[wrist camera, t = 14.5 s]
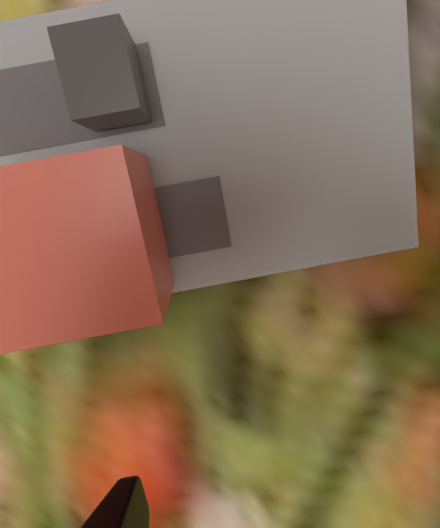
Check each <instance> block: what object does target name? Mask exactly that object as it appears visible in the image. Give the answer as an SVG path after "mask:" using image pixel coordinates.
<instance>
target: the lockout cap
mask: <svg viewBox="0 0 440 528" xmlns="http://www.w3.org/2000/svg"><path fill="white" fill-rule="evenodd" d="M174 285H175V283H174V278H173V274H172V269H171V264H170V260H169V255H168V251H167V246H166V241H165V237H164V232H163V227H162V223H161V218H160V214H159V209H158V204H157V200H156V195H155V190H154V186H153V181H152V177H151V172H150V167H149V163H148V158H147V155H144V154H142V153H140V152H138V151H135V150H133V149H131V148H129V147H126V146H124V145H122V144H121V145H115V146H110V147H104V148H99V149H93V150H88V151H83V152H77V153H72V154H66V155H61V156H55V157H50V158H44V159H39V160H33V161H28V162H22V163H17V164H11V165H6V166H0V354H3V353H9V352H14V351H19V350H25V349H30V348H36V347H41V346H47V345H52V344H58V343H63V342H69V341H74V340H80V339H85V338H90V337H96V336H101V335H107V334H112V333H118V332H123V331H129V330H134V329H140V328H145V327H151V326H156V325H161V324H163V323H164V319H165V316H166V312H167V309H168V305H169V302H170V299H171V295H172V292H173V288H174Z"/></svg>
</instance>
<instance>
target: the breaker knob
mask: <svg viewBox="0 0 440 528" xmlns="http://www.w3.org/2000/svg"><path fill="white" fill-rule="evenodd" d="M47 31H48V35H49V39H50V43H51V46H52V50H53V54H54V58H55V62H56V65H57V69H58V73H59V77H60V81H61V84H62V88H63V92H64V96H65V100H66V104H67V107H68V111H69V115H70V119H71V121H73V122H75V123H77V124H80V125H82V126H84V127H86V128H88V129H91V130H93V131H95V132H98V131H104V130H109V129H114V128H120V127H125V126H130V125H136V124H141V123H146V122H152V118H151V114H150V109H149V104H148V100H147V95H146V90H145V85H144V81H143V76H142V71H141V67H140V62H139V57H138V53H137V48H136V45H135V43H134V41H133V39H132V37H131V35H130V33H129V31H128V29H127V27H126V25H125V23H124V21H123V19H122V17H121V15H120V13H118V14H113V15H107V16H102V17H97V18H91V19H86V20H81V21H75V22H70V23H65V24H59V25H54V26H49V27H47Z"/></svg>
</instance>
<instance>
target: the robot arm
mask: <svg viewBox="0 0 440 528" xmlns="http://www.w3.org/2000/svg"><path fill="white" fill-rule="evenodd" d="M81 528H149V507H148V503H147V499H146V496H145V492H144V489H143V485H142V482H141V479H140V478H139V477H138V476H131V477H125V478H121V479H119V480H118V481H117V482H116V484H115V485H114V486H113V487H112V489H111V490H110V491H109V492H108V494H107V495H106V496H105V497H104V499H103V500H102V501H101V503H100V504H99V505H98V506H97V508H96V509H95V510H94V511H93V513H92V514H91V515H90V516H89V518H88V519H87V520H86V521H85V523H84V524H83V525H82V526H81Z"/></svg>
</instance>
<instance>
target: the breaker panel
mask: <svg viewBox="0 0 440 528" xmlns="http://www.w3.org/2000/svg"><path fill="white" fill-rule="evenodd" d="M118 13H120V15H121V17H122V19H123V21H124V23H125V25H126V27H127V29H128V31H129V33H130V35H131V37H132V39H133V41H134V43H135V45H136V48H137V53H138V57H139V62H140V67H141V71H142V76H143V81H144V85H145V90H146V95H147V100H148V104H149V109H150V114H151V118H152V122H146V123H141V124H136V125H130V126H125V127H120V128H114V129H109V130H104V131H98V132H95V131H93V130H91V129H88V128H86V127H84V126H82V125H80V124H77V123H75V122H73V121H71V119H70V115H69V111H68V107H67V104H66V100H65V96H64V92H63V88H62V84H61V81H60V77H59V73H58V69H57V65H56V62H55V58H54V54H53V50H52V46H51V43H50V39H49V35H48V31H47V27H49V26H54V25H59V24H65V23H70V22H75V21H81V20H86V19H91V18H97V17H102V16H107V15H113V14H118ZM121 144H122V145H124V146H126V147H129V148H131V149H133V150H135V151H138V152H140V153H142V154H144V155H147V158H148V163H149V167H150V172H151V177H152V181H153V186H154V190H155V195H156V200H157V204H158V209H159V214H160V218H161V223H162V227H163V232H164V237H165V241H166V246H167V251H168V255H169V260H170V264H171V269H172V274H173V278H174V283H175V285H174V288H173V292H172V293H175V292H181V291H186V290H192V289H197V288H202V287H208V286H213V285H218V284H224V283H229V282H234V281H240V280H245V279H250V278H256V277H261V276H266V275H272V274H277V273H282V272H288V271H293V270H299V269H304V268H309V267H315V266H320V265H325V264H331V263H336V262H341V261H347V260H352V259H357V258H363V257H368V256H373V255H379V254H384V253H390V252H395V251H400V250H406V249H411V248H416V247H419V240H418V221H417V201H416V182H415V162H414V143H413V123H412V104H411V84H410V65H409V45H408V25H407V6H406V0H112V1H107V2H101V3H96V4H91V5H85V6H80V7H75V8H69V9H64V10H58V11H53V12H48V13H42V14H37V15H32V16H26V17H21V18H16V19H10V20H5V21H0V166H6V165H11V164H17V163H22V162H28V161H33V160H39V159H44V158H50V157H55V156H61V155H66V154H72V153H77V152H83V151H88V150H93V149H99V148H104V147H110V146H115V145H121Z"/></svg>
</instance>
